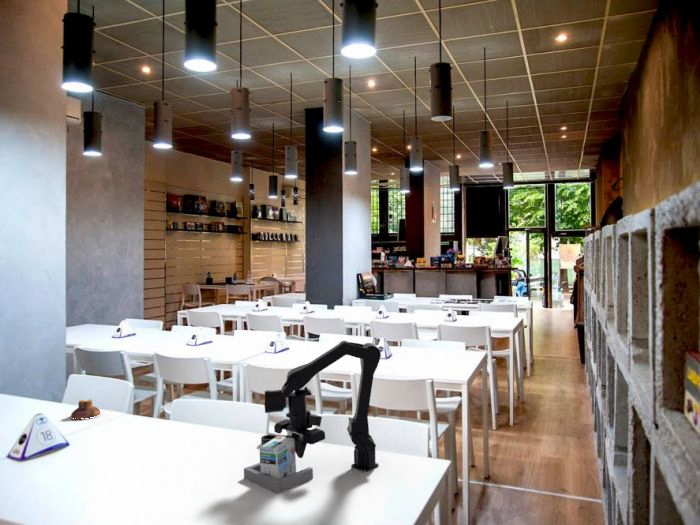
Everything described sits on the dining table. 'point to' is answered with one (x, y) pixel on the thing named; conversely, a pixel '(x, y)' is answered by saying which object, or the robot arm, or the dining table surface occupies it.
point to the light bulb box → (278, 457)
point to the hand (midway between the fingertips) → (300, 457)
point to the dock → (273, 484)
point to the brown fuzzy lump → (85, 410)
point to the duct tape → (267, 438)
